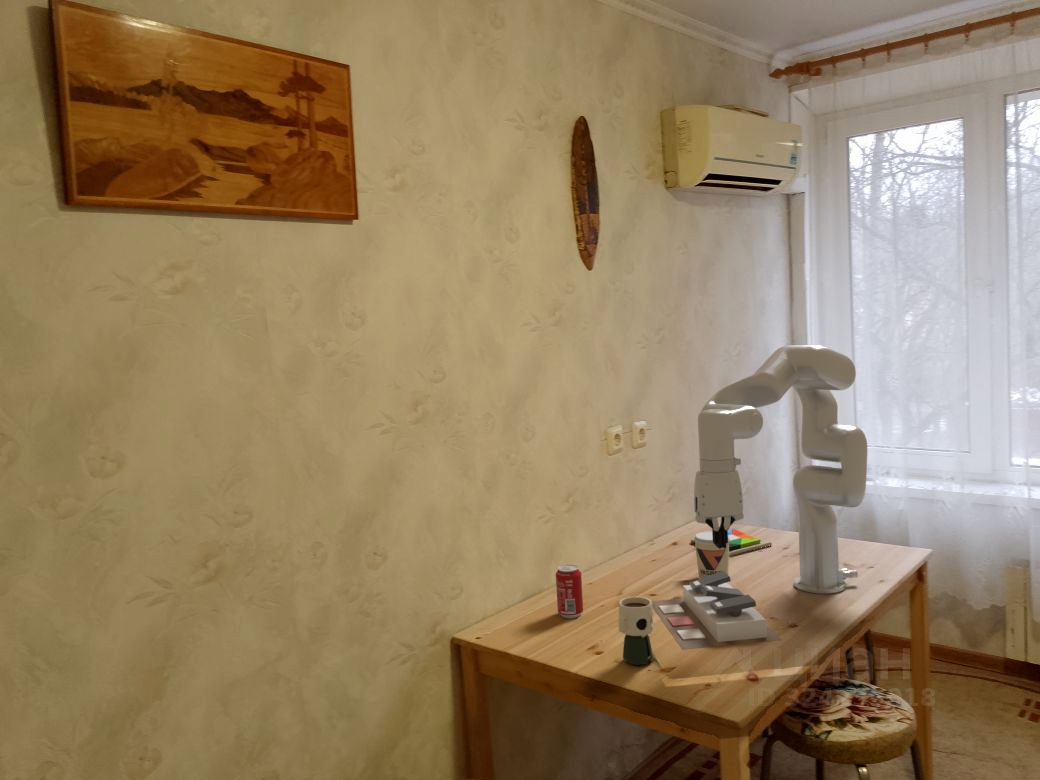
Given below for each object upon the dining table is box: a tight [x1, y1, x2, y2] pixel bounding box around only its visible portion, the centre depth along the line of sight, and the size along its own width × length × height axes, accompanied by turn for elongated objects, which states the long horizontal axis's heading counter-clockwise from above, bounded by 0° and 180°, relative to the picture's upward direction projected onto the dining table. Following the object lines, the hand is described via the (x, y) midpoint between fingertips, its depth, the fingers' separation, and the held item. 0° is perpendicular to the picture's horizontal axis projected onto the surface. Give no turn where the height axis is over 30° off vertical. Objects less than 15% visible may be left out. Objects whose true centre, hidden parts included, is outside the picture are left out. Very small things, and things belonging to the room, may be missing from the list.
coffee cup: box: [693, 530, 730, 579], centre depth 224 cm, size 9×9×12 cm
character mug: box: [617, 596, 654, 666], centre depth 174 cm, size 11×7×13 cm, turn 134°
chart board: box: [651, 597, 782, 650], centre depth 193 cm, size 22×30×2 cm
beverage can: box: [555, 564, 584, 619], centre depth 203 cm, size 6×6×12 cm
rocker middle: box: [701, 585, 745, 601], centre depth 192 cm, size 9×4×3 cm, turn 95°
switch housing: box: [682, 582, 767, 642], centre depth 193 cm, size 11×26×4 cm, turn 5°
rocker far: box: [689, 571, 732, 593], centre depth 200 cm, size 9×4×3 cm, turn 95°
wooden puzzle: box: [690, 528, 773, 557], centre depth 254 cm, size 18×19×4 cm
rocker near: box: [710, 594, 757, 617], centre depth 184 cm, size 9×4×3 cm, turn 95°
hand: (720, 546), depth 183 cm, fingers closed
